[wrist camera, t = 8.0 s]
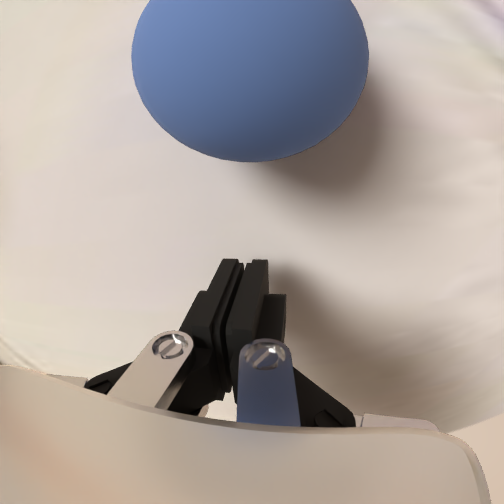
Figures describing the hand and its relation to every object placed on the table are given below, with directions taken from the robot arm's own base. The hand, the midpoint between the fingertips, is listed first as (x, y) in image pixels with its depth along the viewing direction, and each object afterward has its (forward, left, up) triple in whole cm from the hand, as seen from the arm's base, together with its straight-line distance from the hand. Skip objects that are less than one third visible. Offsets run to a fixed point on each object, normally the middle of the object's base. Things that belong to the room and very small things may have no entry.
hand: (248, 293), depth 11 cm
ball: (+1, +8, +2) cm, 8 cm away
